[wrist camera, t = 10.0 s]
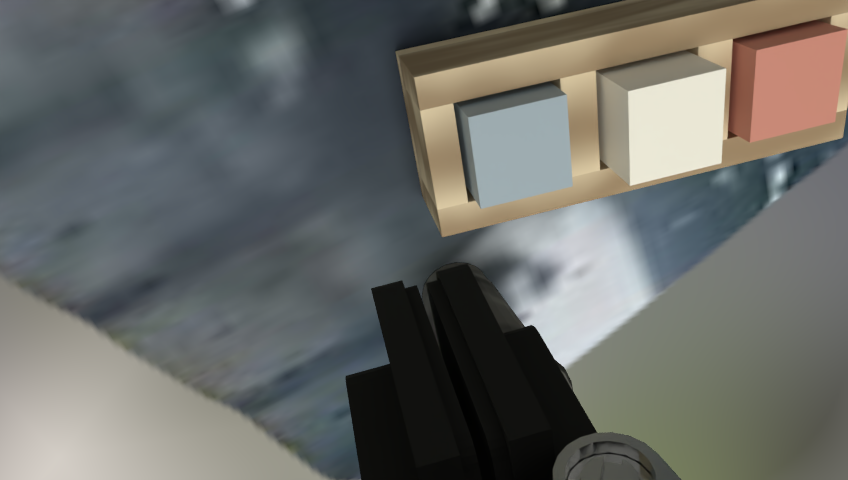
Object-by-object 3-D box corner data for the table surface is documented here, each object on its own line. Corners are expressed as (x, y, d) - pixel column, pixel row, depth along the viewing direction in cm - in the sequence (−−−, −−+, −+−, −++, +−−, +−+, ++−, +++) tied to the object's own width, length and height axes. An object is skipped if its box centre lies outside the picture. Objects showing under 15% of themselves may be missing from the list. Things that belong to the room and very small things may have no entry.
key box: (395, 51, 38) (414, 77, 34) (795, -38, 41) (866, -25, 36) (422, 196, 43) (442, 237, 38) (781, 109, 45) (842, 137, 40)
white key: (593, 69, 36) (628, 91, 33) (683, 49, 37) (726, 68, 33) (597, 157, 39) (630, 185, 35) (681, 136, 39) (721, 163, 36)
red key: (712, 33, 38) (756, 50, 35) (795, 14, 39) (847, 29, 35) (708, 119, 41) (749, 142, 37) (787, 100, 41) (835, 121, 38)
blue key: (448, 94, 37) (467, 117, 34) (538, 73, 37) (566, 94, 34) (461, 178, 39) (480, 208, 36) (546, 158, 40) (572, 186, 36)
